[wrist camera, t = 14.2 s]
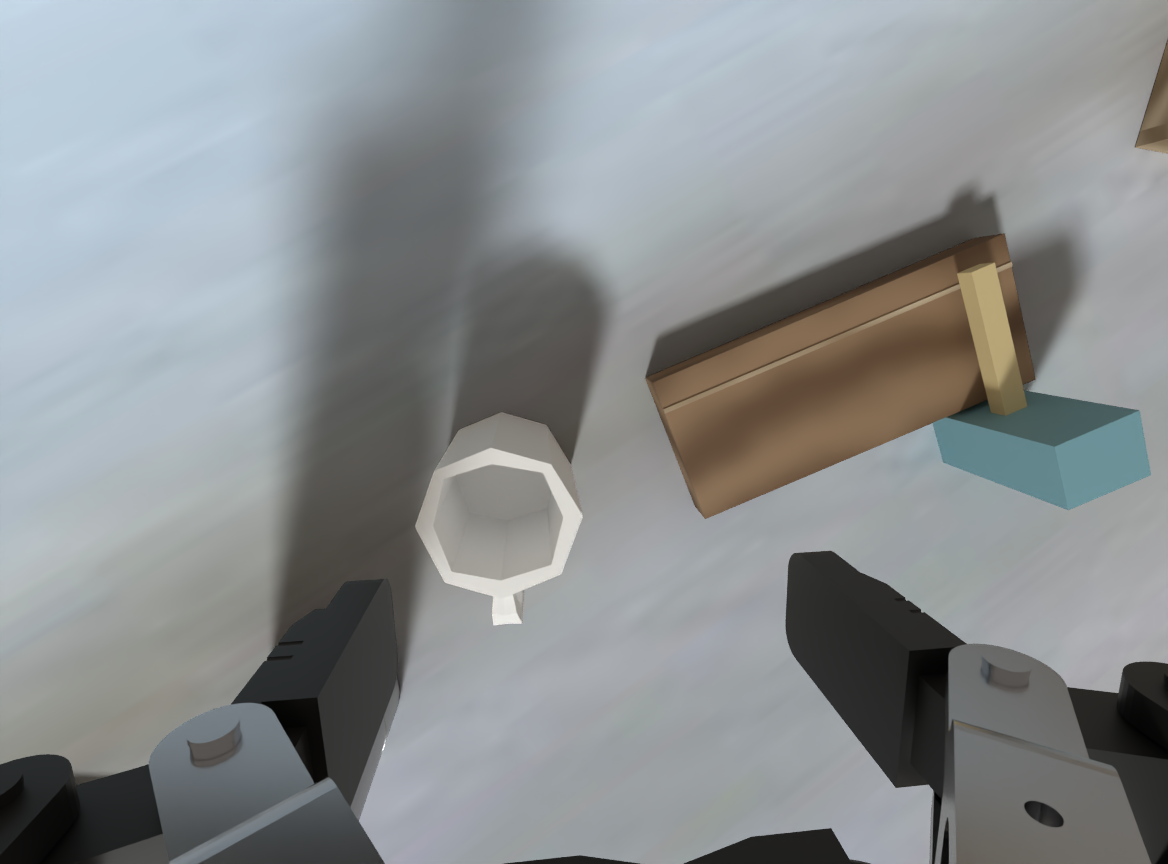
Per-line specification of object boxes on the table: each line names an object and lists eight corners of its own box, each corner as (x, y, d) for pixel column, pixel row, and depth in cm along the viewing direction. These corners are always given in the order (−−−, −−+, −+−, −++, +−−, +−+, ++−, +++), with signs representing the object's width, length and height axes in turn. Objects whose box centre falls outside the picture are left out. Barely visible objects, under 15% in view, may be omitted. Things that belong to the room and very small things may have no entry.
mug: (439, 415, 38) (406, 452, 28) (568, 408, 38) (580, 442, 29) (454, 581, 40) (430, 667, 31) (575, 572, 41) (588, 653, 31)
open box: (1005, 374, 40) (1036, 379, 38) (695, 506, 41) (705, 519, 38) (974, 238, 38) (1005, 233, 36) (645, 377, 38) (653, 382, 36)
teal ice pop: (1006, 435, 42) (1150, 475, 32) (943, 462, 42) (1068, 510, 32) (963, 257, 38) (1109, 240, 29) (895, 286, 38) (1018, 280, 29)
